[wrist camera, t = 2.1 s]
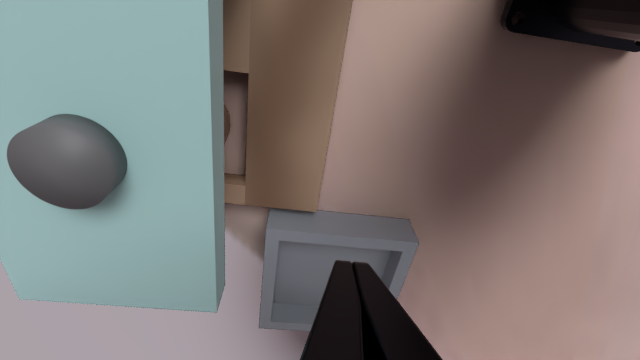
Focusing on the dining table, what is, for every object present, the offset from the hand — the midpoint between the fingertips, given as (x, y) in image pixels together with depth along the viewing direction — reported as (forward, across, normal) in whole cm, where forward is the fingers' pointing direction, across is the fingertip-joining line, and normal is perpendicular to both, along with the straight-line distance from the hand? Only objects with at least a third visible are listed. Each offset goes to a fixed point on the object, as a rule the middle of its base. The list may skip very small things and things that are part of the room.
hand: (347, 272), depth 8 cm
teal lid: (+7, +7, -2) cm, 10 cm away
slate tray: (+9, -1, +9) cm, 12 cm away
